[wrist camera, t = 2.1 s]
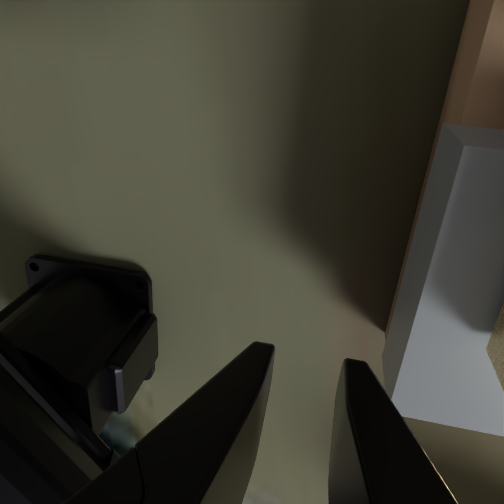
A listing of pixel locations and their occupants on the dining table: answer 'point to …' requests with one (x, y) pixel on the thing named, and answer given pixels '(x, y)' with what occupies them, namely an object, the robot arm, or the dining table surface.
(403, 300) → the cover
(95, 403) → the robot arm
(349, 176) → the dining table surface
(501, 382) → the tan rectangular bar
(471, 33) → the key box
